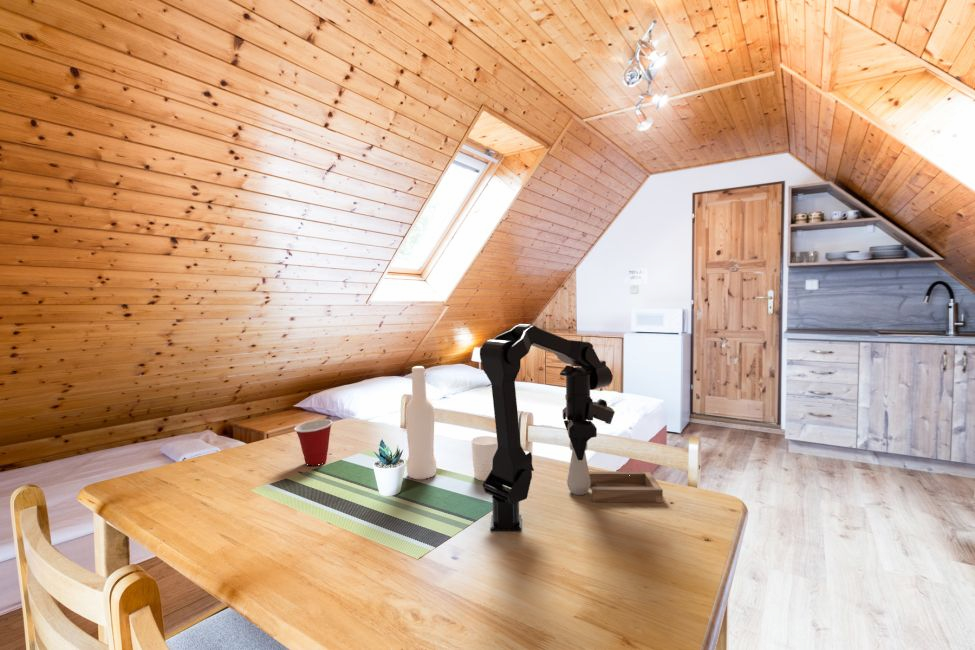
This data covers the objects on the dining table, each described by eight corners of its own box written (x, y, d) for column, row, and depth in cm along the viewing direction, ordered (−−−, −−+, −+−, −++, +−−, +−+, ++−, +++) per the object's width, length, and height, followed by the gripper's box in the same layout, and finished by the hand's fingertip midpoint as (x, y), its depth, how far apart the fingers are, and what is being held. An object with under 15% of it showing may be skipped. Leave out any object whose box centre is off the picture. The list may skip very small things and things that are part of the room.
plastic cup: (294, 460, 148) (292, 421, 147) (331, 454, 153) (330, 417, 152) (297, 472, 138) (295, 430, 137) (336, 465, 143) (334, 425, 142)
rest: (662, 502, 113) (662, 489, 113) (592, 502, 114) (592, 489, 114) (649, 483, 125) (649, 471, 125) (586, 482, 126) (586, 471, 126)
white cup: (489, 484, 126) (488, 446, 126) (466, 477, 131) (465, 441, 130) (507, 474, 133) (506, 438, 132) (484, 469, 137) (483, 434, 137)
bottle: (431, 481, 129) (427, 369, 127) (402, 479, 131) (398, 368, 129) (440, 470, 137) (437, 364, 135) (413, 468, 139) (409, 364, 137)
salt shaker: (592, 496, 117) (592, 443, 116) (568, 497, 117) (568, 444, 117) (588, 487, 123) (587, 436, 122) (565, 487, 123) (564, 436, 122)
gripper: (619, 400, 109) (619, 469, 110) (605, 385, 127) (605, 443, 128) (569, 401, 110) (569, 469, 111) (562, 385, 128) (562, 443, 129)
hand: (578, 455), depth 120 cm, fingers open, 6 cm apart
